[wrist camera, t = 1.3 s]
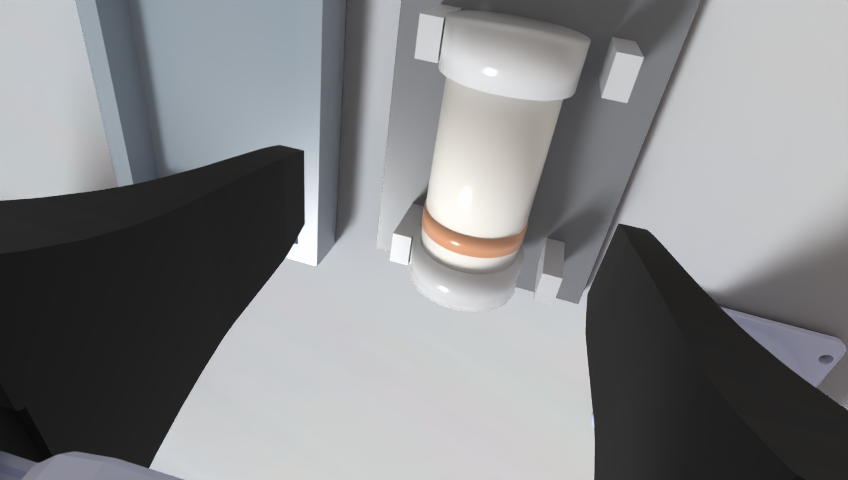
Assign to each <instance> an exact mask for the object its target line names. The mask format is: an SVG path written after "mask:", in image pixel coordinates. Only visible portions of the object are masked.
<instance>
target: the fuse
mask: <svg viewBox="0 0 848 480" xmlns="http://www.w3.org/2000/svg"><path fill="white" fill-rule="evenodd" d="M590 42H591V39H590V38H589V37H588V36H586V35H584V34H583V33H580V32H578V31H576V30H573V29H570V28H567V27H564V26H561V25H557V24H554V23H550V22H546V21H542V20H537V19H533V18H528V17H523V16H517V15H511V14H504V13H497V12H488V11H474V10H459V11H452V12H449V13H447V14H446V19H445V26H444V33H443V39H442V46H441V53H440V59H439V66H438V67H439V70H440V72H441V73H442V74H443V75H445V76H446V80H445V86H444V92H443V98H442V105H441V111H440V117H439V124H438V130H437V136H436V143H435V149H434V155H433V161H432V168H431V174H430V180H429V187H428V193H427V198H426V200H425V204H424V210H423V216H422V223H421V224H420V225H419V226H418V227H417V228H416V230H415V232H414V235H413V241H412V247H411V254H410V261H409V268H408V272H409V277H410V280H411V282H412V283H413V285H414V286H415V287H416V289H417V290H418V291H419V292H420V293H421V294H423V295H424V296H425V297H427V298H428V299H430V300H431V301H433V302H435V303H437V304H439V305H442V306H445V307H447V308H451V309H455V310H460V311H468V312H480V311H488V310H492V309H495V308H498V307H500V306H502V305H504V304H505V303H507V302H508V301H509V300H510V299H511V297H512V296H513V294H514V291H515V288H516V285H517V281H518V278H519V275H520V271H521V268H522V265H523V262H524V251H523V248H522V246H521V245H522V243H523V239H524V236H525V233H526V229H527V226H528V218H529V214H530V211H531V208H532V204H533V201H534V197H535V194H536V191H537V187H538V184H539V180H540V177H541V174H542V170H543V167H544V163H545V160H546V157H547V153H548V150H549V146H550V143H551V140H552V136H553V133H554V129H555V126H556V123H557V119H558V116H559V112H560V109H561V106H562V102H563V99H566V98H569V97H572V96H573V95H574V94H575V91H576V88H577V85H578V81H579V78H580V75H581V72H582V68H583V65H584V62H585V59H586V55H587V52H588V49H589V45H590Z"/></svg>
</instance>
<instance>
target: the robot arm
mask: <svg viewBox="0 0 848 480" xmlns="http://www.w3.org/2000/svg"><path fill="white" fill-rule="evenodd" d="M304 224H305V186H304V150H300V149H295V148H291V147H287V146H282V145H276V146H270V147H266V148H262V149H259V150H255V151H252V152H248V153H245V154H242V155H238V156H235V157H232V158H229V159H226V160H222V161H219V162H216V163H213V164H209V165H206V166H203V167H199V168H196V169H192V170H188V171H185V172H181V173H177V174H173V175H170V176H166V177H162V178H159V179H154V180H150V181H146V182H141V183H137V184H132V185H126V186H121V187H116V188H110V189H105V190H99V191H92V192H84V193H76V194H67V195H59V196H51V197H43V198H33V199H19V200H6V201H0V480H183V479H180V478H177V477H174V476H171V475H167V474H164V473H161V472H158V471H155V470H152V469H149V467H150V465H151V463H152V461H153V459H154V457H155V455H156V453H157V451H158V449H159V447H160V446H161V444H162V442H163V440H164V438H165V436H166V435H167V433H168V431H169V429H170V427H171V425H172V424H173V422H174V420H175V418H176V416H177V414H178V412H179V411H180V409H181V407H182V405H183V404H184V402H185V400H186V399H187V397H188V395H189V393H190V392H191V390H192V388H193V387H194V385H195V383H196V381H197V380H198V378H199V376H200V375H201V373H202V371H203V370H204V368H205V366H206V365H207V363H208V362H209V360H210V358H211V357H212V355H213V354H214V352H215V350H216V349H217V347H218V346H219V344H220V342H221V341H222V339H223V338H224V336H225V335H226V333H227V332H228V331H229V329H230V328H231V326H232V325H233V324H234V322H235V321H236V320H237V318H238V317H239V316H240V315H241V313H242V312H243V311H244V310H245V308H246V307H247V306H248V305H249V303H250V302H251V301H252V300H253V298H254V297H255V296H256V295H257V293H258V292H259V291H260V290H261V288H262V287H263V286H264V285H265V283H266V282H267V281H268V280H269V278H270V277H271V276H272V274H273V273H274V272H275V271H276V269H277V268H278V267H279V265H280V264H281V263H282V262H283V260H284V259H285V258H286V256H287V255H288V253H289V251H290V250H291V248H292V246H293V245H294V243H295V241H296V239H297V237H298V236H299V234H300V232H301V230H302V228H303V226H304ZM586 344H587V355H588V366H589V376H590V386H591V396H592V406H593V414H592V416H591V424H592V426H593V427H594V431H595V474H594V480H848V410H846V409H845V408H844V407H842V406H841V405H839V404H838V403H836V402H835V401H834V400H832V399H831V398H830V397H828V396H827V395H825V394H824V393H823V392H821V391H820V390H818V389H817V388H816V387H817V386H818V385H819V384H820V382H821V381H822V380H823V379H824V378H825V377H826V375H827V374H828V373H829V372H830V371H831V370H832V368H833V367H834V366H835V365H836V364H837V363H838V361H839V360H840V359H841V358H842V357H843V356H844V354H845V353H846V351H847V350H846V346H845V344H844V343H843V342H842V340H841V339H839V338H836V337H833V336H829V335H825V334H821V333H818V332H814V331H810V330H806V329H803V328H799V327H795V326H791V325H787V324H784V323H780V322H776V321H772V320H768V319H765V318H761V317H757V316H753V315H750V314H746V313H742V312H738V311H734V310H731V309H727V308H723V307H720V306H719V305H717V303H716V302H715V301H714V300H713V299H712V298H711V297H710V296H709V295H708V294H707V293H706V292H705V291H704V290H703V289H702V288H701V287H700V286H699V285H698V284H697V283H696V282H695V280H694V279H693V278H692V277H691V276H690V275H689V274H688V273H687V272H686V271H685V270H684V268H683V267H682V266H681V265H680V264H679V263H678V262H677V261H676V259H675V258H674V257H673V256H672V255H671V254H670V253H669V252H668V251H667V249H666V248H665V247H664V246H663V245H662V244H661V243H660V242H659V241H658V240H657V239H656V238H655V237H654V236H653V235H652V234H651V233H650V232H649V231H648V230H645V229H641V228H636V227H632V226H628V225H623V224H618V226H617V228H616V231H615V233H614V235H613V238H612V240H611V242H610V244H609V247H608V249H607V251H606V254H605V256H604V258H603V260H602V263H601V265H600V267H599V270H598V272H597V274H596V276H595V279H594V281H593V283H592V286H591V288H590V290H589V292H588V297H587V312H586ZM823 355H828V356H827V357H823V358H820V357H821V356H823Z"/></svg>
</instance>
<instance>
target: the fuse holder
mask: <svg viewBox="0 0 848 480" xmlns="http://www.w3.org/2000/svg"><path fill="white" fill-rule="evenodd" d="M700 1H701V0H401V8H400V18H399V28H398V38H397V48H396V57H395V67H394V77H393V87H392V97H391V107H390V117H389V126H388V136H387V146H386V156H385V166H384V176H383V186H382V196H381V205H380V215H379V225H378V235H377V245H376V248H377V249H380V250H384V251H388V252H391V254H390V261H393V262H397V263H400V264H404V265H408V264H409V261H410V254H411V247H412V241H413V235H414V232H415V230H416V228H417V227H418V226H419V225H420V224H421V223H422V216H423V210H424V204H425V200H426V198H427V193H428V187H429V180H430V174H431V168H432V161H433V155H434V149H435V143H436V136H437V130H438V124H439V117H440V111H441V105H442V98H443V92H444V86H445V80H446V76H445V75H443V74H442V73H441V72H440V70H439V67H438V66H439V59H440V53H441V46H442V39H443V33H444V26H445V19H446V14H447V13H449V12H452V11H459V10H474V11H488V12H497V13H504V14H511V15H517V16H523V17H528V18H533V19H537V20H542V21H546V22H550V23H554V24H557V25H561V26H564V27H567V28H570V29H573V30H576V31H578V32H580V33H583V34H584V35H586V36H588V37H589V38H590V39H591V42H590V45H589V49H588V52H587V55H586V59H585V62H584V65H583V68H582V72H581V75H580V78H579V81H578V85H577V88H576V91H575V94H574V95H573V96H572V97H569V98H566V99H563V102H562V106H561V109H560V112H559V116H558V119H557V123H556V126H555V129H554V133H553V136H552V140H551V143H550V146H549V150H548V153H547V157H546V160H545V163H544V167H543V170H542V174H541V177H540V180H539V184H538V187H537V191H536V194H535V197H534V201H533V204H532V208H531V211H530V214H529V218H528V226H527V229H526V233H525V236H524V239H523V243H522V245H521V246H522V248H523V251H524V262H523V265H522V268H521V271H520V275H519V278H518V281H517V285H516V287H518V288H522V289H526V290H529V291H533V292H534V299H533V300H534V301H537V302H541V303H544V304H548V305H552V306H553V304H554V301H555V298H558V299H562V300H566V301H569V302H573V303H577V304H578V303H579V301H580V298H581V296H582V293H583V291H584V289H585V286H586V284H587V281H588V279H589V276H590V274H591V271H592V269H593V266H594V264H595V261H596V259H597V256H598V254H599V251H600V249H601V246H602V244H603V241H604V239H605V236H606V234H607V232H608V229H609V227H610V224H611V222H612V219H613V217H614V214H615V212H616V209H617V207H618V204H619V202H620V199H621V197H622V194H623V192H624V189H625V187H626V184H627V182H628V180H629V177H630V175H631V172H632V170H633V167H634V165H635V162H636V160H637V157H638V155H639V152H640V150H641V147H642V145H643V142H644V140H645V137H646V135H647V132H648V130H649V128H650V125H651V123H652V120H653V118H654V115H655V113H656V110H657V108H658V105H659V103H660V100H661V98H662V95H663V93H664V90H665V88H666V85H667V83H668V80H669V78H670V75H671V73H672V71H673V68H674V66H675V63H676V61H677V58H678V56H679V53H680V51H681V48H682V46H683V43H684V41H685V38H686V36H687V33H688V31H689V28H690V26H691V23H692V21H693V19H694V16H695V14H696V11H697V9H698V6H699V4H700Z"/></svg>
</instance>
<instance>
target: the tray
mask: <svg viewBox="0 0 848 480" xmlns="http://www.w3.org/2000/svg"><path fill="white" fill-rule="evenodd" d="M75 1H76V5H77V10H78V14H79V18H80V23H81V27H82V32H83V36H84V40H85V45H86V49H87V54H88V58H89V62H90V67H91V71H92V76H93V80H94V84H95V89H96V93H97V98H98V102H99V106H100V111H101V115H102V120H103V124H104V128H105V133H106V137H107V142H108V146H109V150H110V155H111V159H112V164H113V168H114V172H115V177H116V181H117V185H118V187H121V186H126V185H132V184H137V183H141V182H146V181H150V180H154V179H159V178H162V177H166V176H170V175H173V174H177V173H181V172H185V171H188V170H192V169H196V168H199V167H203V166H206V165H209V164H213V163H216V162H219V161H222V160H226V159H229V158H232V157H235V156H238V155H242V154H245V153H248V152H252V151H255V150H259V149H262V148H266V147H270V146H276V145H282V146H287V147H291V148H295V149H300V150H304V186H305V224H304V226H303V228H302V230H301V232H300V234H299V236H298V237H297V239H296V241H295V243H294V245H293V246H292V248H291V250H290V251H289V253H288V255H287V256H286V258H289V259H292V260H296V261H299V262H303V263H306V264H310V265H313V266H318V264H319V263H320V262H321V261H322V259H323V258H324V257H325V256H326V255H327V253H328V252H329V251H330V250H331V248H332V247H333V246H334V245H335V238H336V216H337V194H338V173H339V151H340V129H341V108H342V86H343V64H344V42H345V21H346V0H75Z"/></svg>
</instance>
